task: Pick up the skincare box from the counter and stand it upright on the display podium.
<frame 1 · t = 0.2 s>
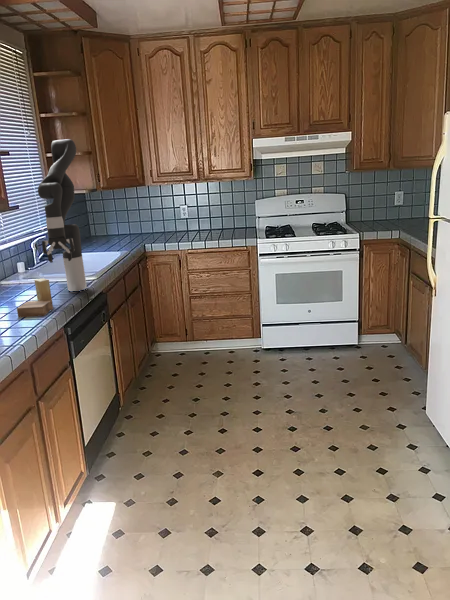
hand: (60, 261, 239), 18 cm above the worktop, tool pointing down, fingers open, 8 cm apart
display podium: (36, 313, 221), on the worktop
skincare box: (45, 306, 232), on the worktop
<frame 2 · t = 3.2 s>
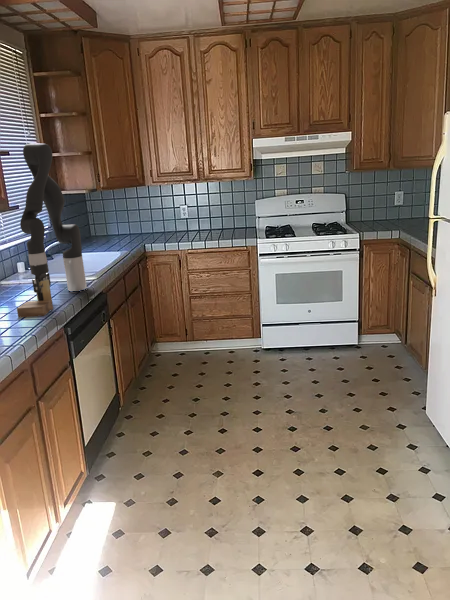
hand: (44, 298, 231), 3 cm above the worktop, tool pointing down, fingers closed on skincare box, 7 cm apart
skincare box: (45, 305, 232), on the worktop, touching gripper
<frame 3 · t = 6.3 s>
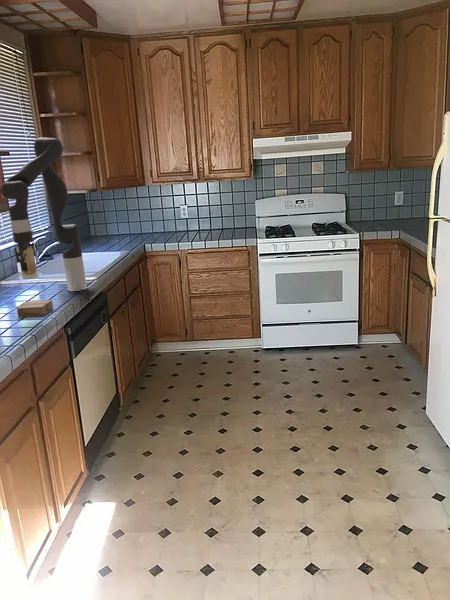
hand: (28, 269, 216), 19 cm above the worktop, tool pointing down, fingers closed on skincare box, 7 cm apart
skincare box: (30, 277, 217), point 16 cm above the worktop, touching gripper
when the fingers open (9 cm above the worktop, at t = 9.2 s): skincare box drops 1 cm, resting on display podium.
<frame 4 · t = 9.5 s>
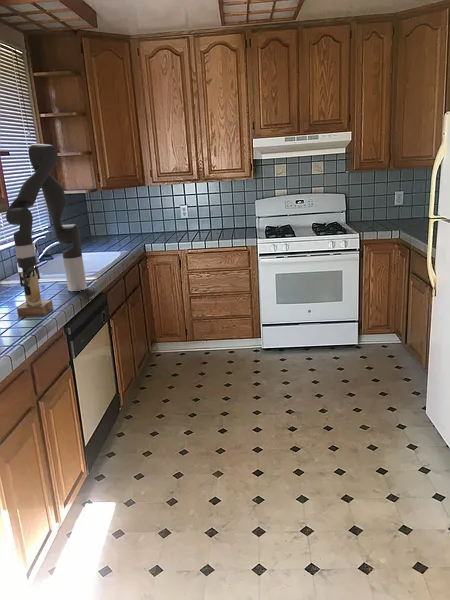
hand: (32, 292, 218), 9 cm above the worktop, tool pointing down, fingers open, 8 cm apart
skincare box: (34, 304, 219), point 4 cm above the worktop, touching display podium
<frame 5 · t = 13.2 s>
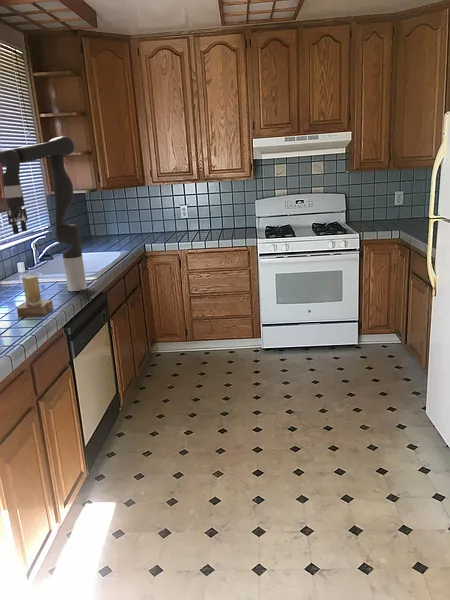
hand: (20, 232, 231), 33 cm above the worktop, tool pointing down, fingers open, 8 cm apart
nothing on the worktop moved.
at the end: skincare box inside the target area on the display podium (0.3 cm from its centre), point 3.8 cm above the display podium's base; skincare box tilted 0°; the gripper is holding nothing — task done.
